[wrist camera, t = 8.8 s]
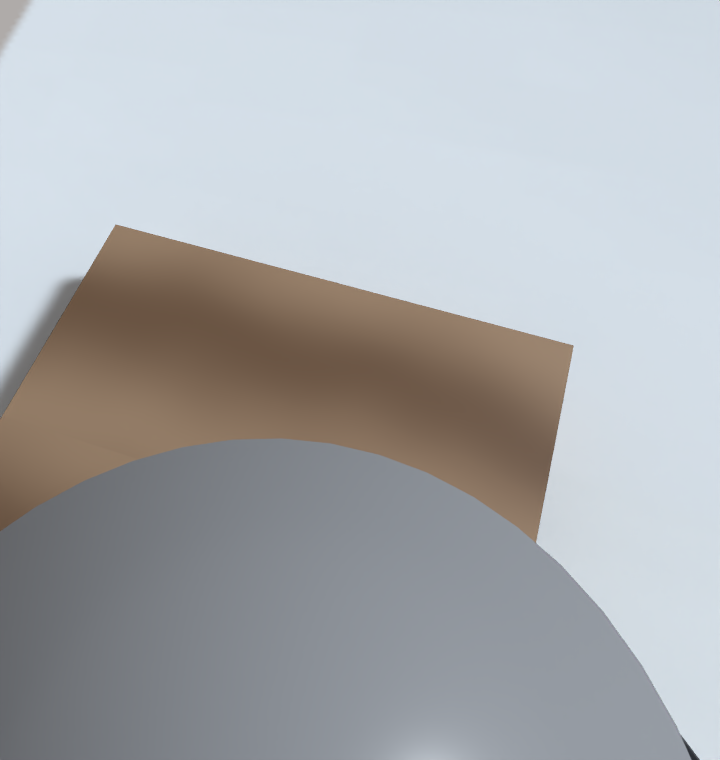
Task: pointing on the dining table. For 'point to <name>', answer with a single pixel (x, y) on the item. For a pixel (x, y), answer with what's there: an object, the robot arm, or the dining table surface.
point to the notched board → (276, 378)
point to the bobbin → (303, 621)
